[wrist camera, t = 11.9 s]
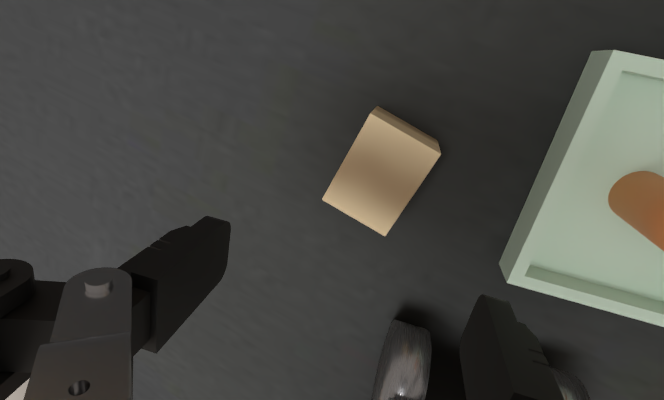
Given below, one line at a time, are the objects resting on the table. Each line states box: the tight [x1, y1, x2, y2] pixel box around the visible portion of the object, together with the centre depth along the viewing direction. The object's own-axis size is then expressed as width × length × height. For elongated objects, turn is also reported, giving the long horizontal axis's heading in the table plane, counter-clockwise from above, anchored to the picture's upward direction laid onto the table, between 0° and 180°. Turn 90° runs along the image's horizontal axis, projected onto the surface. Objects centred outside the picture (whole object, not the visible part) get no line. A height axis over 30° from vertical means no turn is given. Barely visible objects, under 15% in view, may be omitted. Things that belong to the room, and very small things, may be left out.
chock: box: [322, 106, 441, 236], centre depth 23 cm, size 6×4×4 cm
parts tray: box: [499, 50, 664, 327], centre depth 21 cm, size 14×11×2 cm
